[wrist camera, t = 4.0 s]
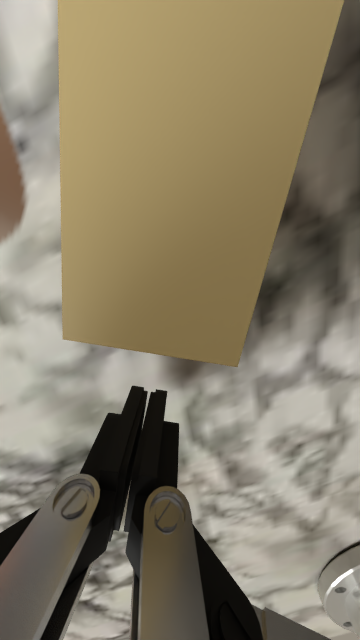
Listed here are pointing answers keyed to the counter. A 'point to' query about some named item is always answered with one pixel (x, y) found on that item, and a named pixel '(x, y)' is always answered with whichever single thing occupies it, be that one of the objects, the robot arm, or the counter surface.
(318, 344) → the counter surface
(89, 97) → the tan rectangular block
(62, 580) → the robot arm
